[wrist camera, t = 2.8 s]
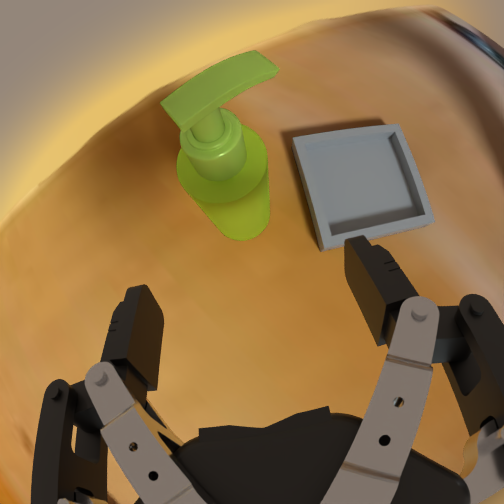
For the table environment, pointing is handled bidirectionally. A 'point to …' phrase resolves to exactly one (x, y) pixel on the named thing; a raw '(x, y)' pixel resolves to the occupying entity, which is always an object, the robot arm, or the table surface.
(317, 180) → the tray
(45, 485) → the robot arm
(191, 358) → the table surface
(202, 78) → the soap dispenser
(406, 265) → the table surface
